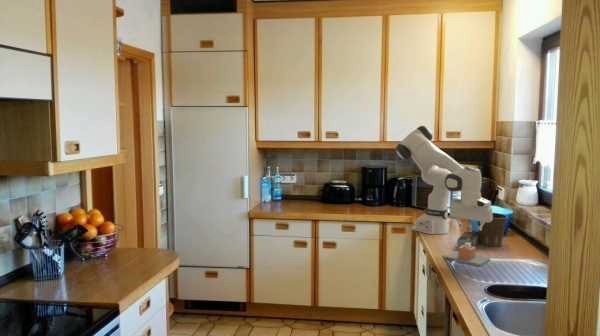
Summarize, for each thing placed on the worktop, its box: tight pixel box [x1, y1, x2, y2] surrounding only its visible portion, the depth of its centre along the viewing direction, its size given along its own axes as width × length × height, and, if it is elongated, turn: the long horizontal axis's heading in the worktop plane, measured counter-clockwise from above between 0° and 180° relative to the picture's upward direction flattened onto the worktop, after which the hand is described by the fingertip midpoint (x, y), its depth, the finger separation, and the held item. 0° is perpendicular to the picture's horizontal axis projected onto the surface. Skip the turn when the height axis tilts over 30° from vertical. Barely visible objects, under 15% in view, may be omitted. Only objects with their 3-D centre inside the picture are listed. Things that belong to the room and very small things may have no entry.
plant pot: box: [476, 212, 509, 247], centre depth 253 cm, size 16×16×16 cm
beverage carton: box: [456, 230, 480, 251], centre depth 248 cm, size 8×19×7 cm, turn 149°
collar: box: [458, 245, 477, 260], centre depth 224 cm, size 6×6×5 cm
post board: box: [443, 243, 491, 267], centre depth 224 cm, size 18×12×8 cm, turn 47°
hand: (470, 228), depth 223 cm, fingers open, 8 cm apart
